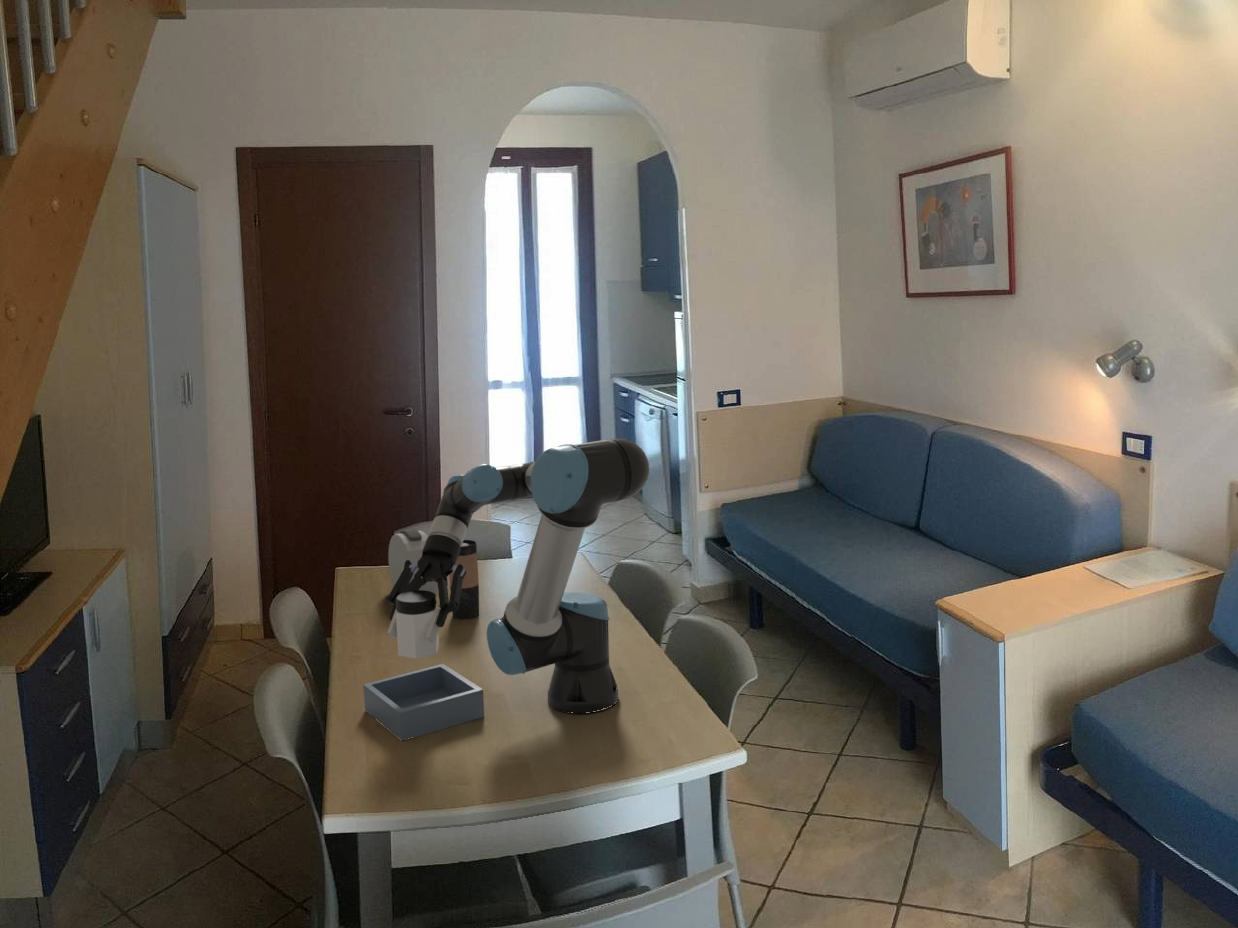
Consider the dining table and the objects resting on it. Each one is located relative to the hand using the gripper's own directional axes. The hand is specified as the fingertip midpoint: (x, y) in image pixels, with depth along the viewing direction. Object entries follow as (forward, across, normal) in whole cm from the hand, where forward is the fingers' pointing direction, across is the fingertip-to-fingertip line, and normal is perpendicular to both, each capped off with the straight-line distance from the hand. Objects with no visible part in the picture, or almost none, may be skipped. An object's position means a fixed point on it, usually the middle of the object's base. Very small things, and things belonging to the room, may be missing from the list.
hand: (410, 637), depth 208 cm
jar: (+1, 0, -6) cm, 6 cm away
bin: (+10, 0, -15) cm, 18 cm away
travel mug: (-32, +21, -58) cm, 69 cm away
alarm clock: (-39, +43, -65) cm, 87 cm away
